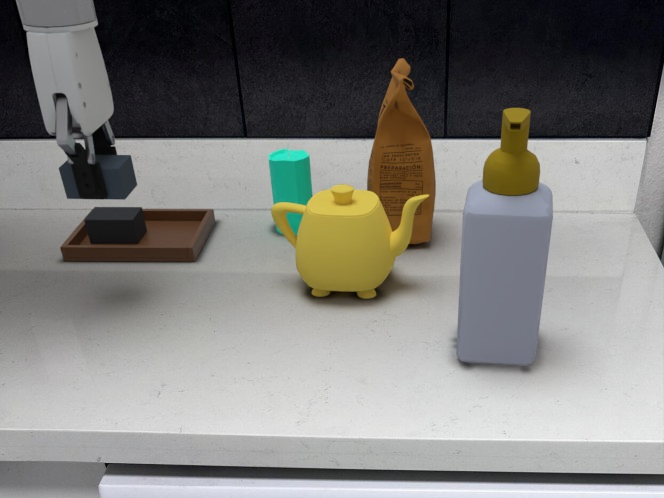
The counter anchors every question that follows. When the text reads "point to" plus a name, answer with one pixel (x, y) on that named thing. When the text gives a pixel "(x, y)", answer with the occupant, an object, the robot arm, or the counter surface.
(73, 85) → the robot arm
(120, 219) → the black rectangular block
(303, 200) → the candle
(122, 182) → the blue gray block
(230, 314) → the counter surface
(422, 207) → the coffee package
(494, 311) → the soap bottle
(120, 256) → the brown shallow rectangular tray
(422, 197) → the teapot
